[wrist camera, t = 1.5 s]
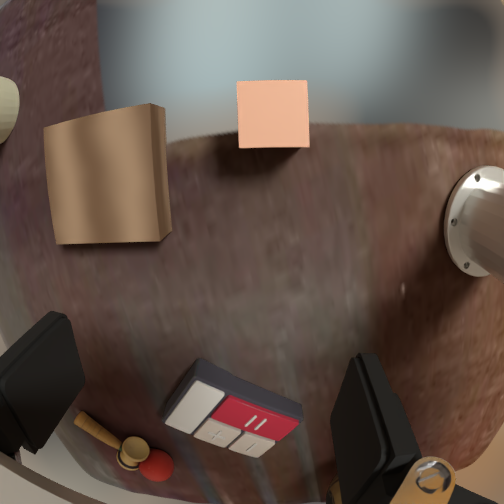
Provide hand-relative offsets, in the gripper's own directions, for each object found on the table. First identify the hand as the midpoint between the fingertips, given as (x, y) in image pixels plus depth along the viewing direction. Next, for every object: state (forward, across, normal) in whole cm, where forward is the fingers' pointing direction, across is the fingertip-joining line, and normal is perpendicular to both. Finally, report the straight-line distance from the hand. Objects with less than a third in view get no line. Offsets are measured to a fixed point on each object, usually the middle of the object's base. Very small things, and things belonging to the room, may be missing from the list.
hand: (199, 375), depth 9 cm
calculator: (+22, 0, +25) cm, 33 cm away
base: (+22, +14, -4) cm, 26 cm away
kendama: (+21, +18, +38) cm, 47 cm away
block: (+21, -1, -9) cm, 23 cm away
